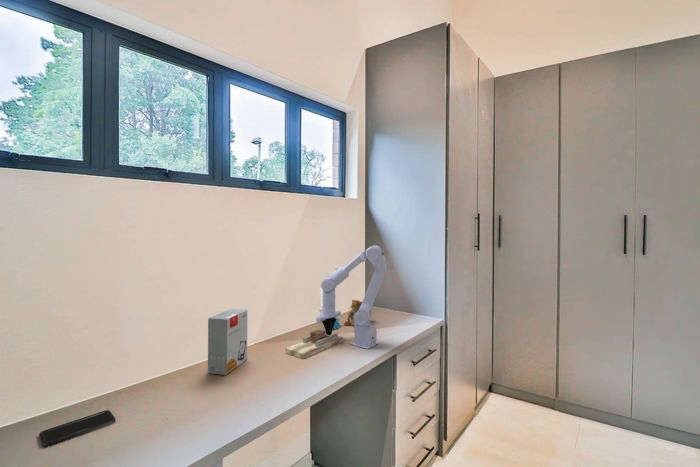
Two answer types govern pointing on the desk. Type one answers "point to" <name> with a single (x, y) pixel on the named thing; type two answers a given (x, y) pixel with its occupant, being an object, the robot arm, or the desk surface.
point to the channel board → (313, 346)
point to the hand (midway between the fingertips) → (328, 334)
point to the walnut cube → (316, 335)
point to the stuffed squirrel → (353, 312)
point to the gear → (336, 323)
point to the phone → (76, 428)
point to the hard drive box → (227, 341)
